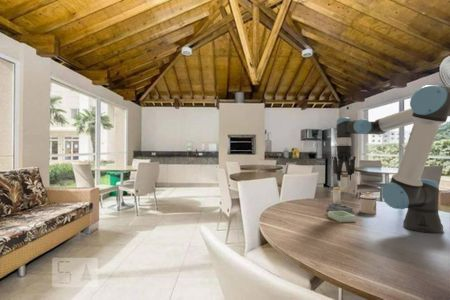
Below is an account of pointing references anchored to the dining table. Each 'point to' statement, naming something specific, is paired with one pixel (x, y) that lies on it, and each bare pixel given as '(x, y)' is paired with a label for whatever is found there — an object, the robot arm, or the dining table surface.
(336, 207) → the fuse block
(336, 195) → the fuse
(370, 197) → the teacup with lid
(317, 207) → the dining table surface
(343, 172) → the cylinder
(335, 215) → the parts tray
